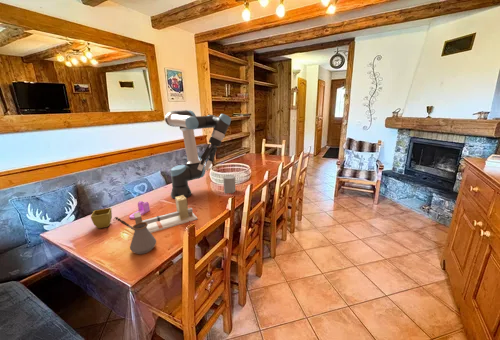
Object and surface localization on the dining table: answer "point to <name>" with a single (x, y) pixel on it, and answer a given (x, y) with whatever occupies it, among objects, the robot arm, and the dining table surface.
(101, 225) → the flower pot
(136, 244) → the coffee pot
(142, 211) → the bracket
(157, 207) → the dining table surface
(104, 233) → the dining table surface
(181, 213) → the tan rectangular block
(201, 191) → the dining table surface
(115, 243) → the dining table surface
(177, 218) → the rod gauge
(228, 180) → the gray cylinder
